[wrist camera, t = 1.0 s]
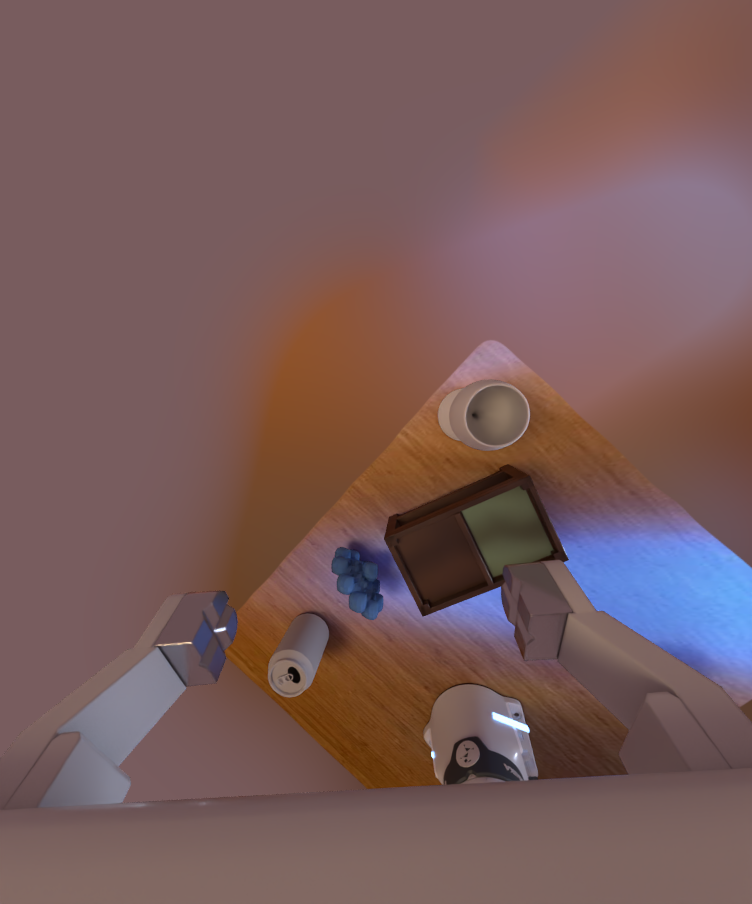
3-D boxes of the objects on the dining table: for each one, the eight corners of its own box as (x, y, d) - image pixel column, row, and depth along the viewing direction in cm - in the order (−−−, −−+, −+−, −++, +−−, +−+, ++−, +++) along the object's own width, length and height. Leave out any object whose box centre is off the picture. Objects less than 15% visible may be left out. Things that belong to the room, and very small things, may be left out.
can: (336, 641, 61) (318, 695, 50) (300, 652, 63) (274, 707, 51) (321, 605, 61) (299, 651, 49) (285, 617, 62) (255, 665, 50)
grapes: (402, 574, 59) (400, 615, 47) (374, 596, 60) (365, 641, 48) (359, 525, 58) (346, 554, 46) (332, 548, 59) (312, 581, 48)
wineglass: (430, 431, 55) (441, 442, 34) (447, 381, 54) (470, 361, 33) (480, 447, 54) (522, 469, 34) (499, 397, 53) (554, 387, 32)
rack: (540, 533, 55) (569, 560, 45) (421, 581, 58) (422, 617, 48) (508, 464, 54) (530, 475, 44) (388, 517, 58) (383, 539, 47)
